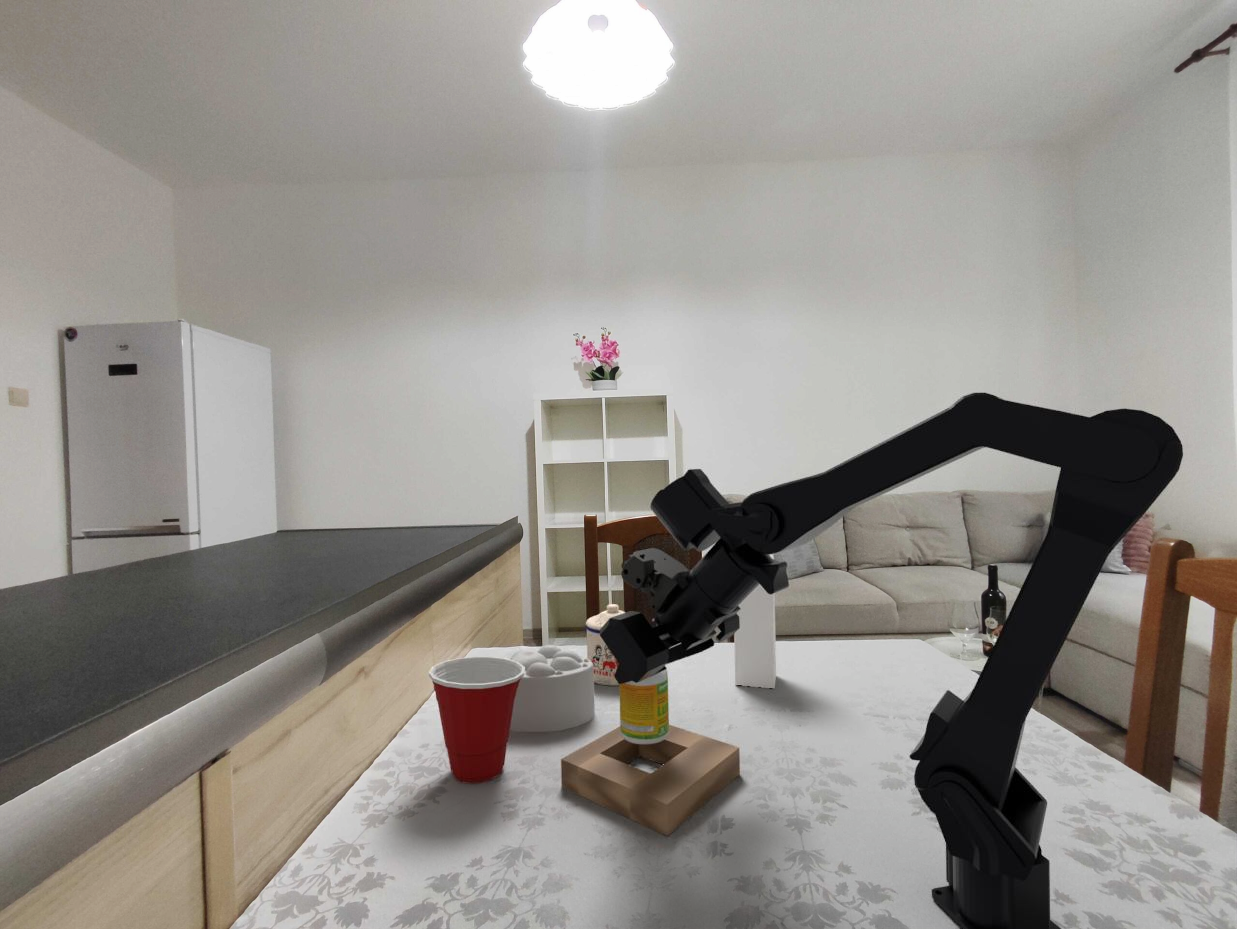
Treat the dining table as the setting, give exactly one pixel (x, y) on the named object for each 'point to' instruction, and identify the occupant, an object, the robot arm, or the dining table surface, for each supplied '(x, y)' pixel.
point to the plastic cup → (476, 713)
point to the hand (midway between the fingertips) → (633, 672)
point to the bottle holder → (652, 776)
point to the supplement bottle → (645, 709)
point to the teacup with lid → (601, 647)
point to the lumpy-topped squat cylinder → (553, 690)
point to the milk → (756, 640)
